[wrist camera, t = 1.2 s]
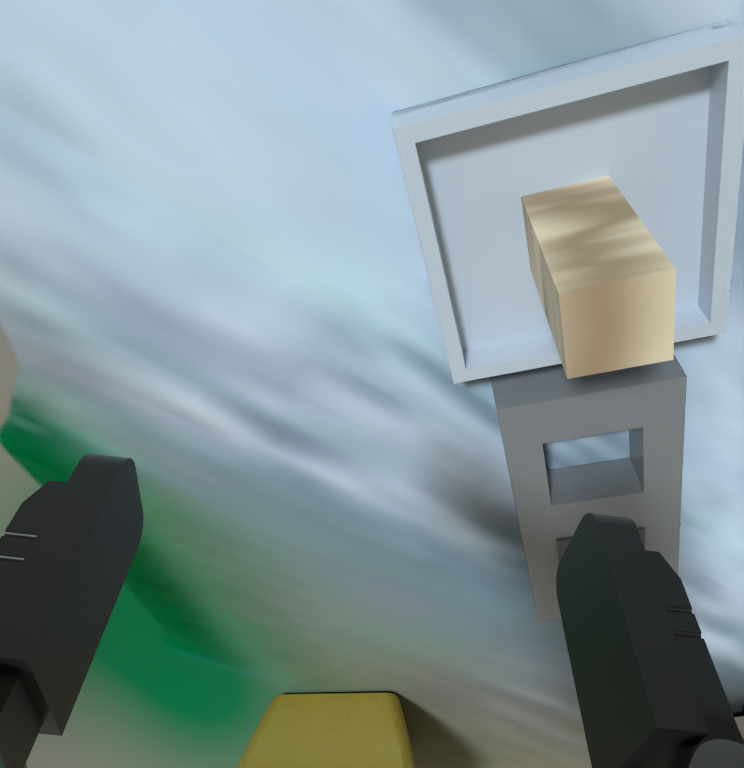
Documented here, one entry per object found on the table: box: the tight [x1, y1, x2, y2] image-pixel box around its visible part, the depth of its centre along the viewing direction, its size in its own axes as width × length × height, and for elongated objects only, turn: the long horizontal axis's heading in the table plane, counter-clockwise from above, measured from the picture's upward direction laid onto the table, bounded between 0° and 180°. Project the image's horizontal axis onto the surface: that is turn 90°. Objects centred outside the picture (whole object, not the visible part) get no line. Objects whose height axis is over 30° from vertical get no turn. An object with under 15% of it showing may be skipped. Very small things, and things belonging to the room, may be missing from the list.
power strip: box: [491, 355, 687, 621], centre depth 41 cm, size 10×22×4 cm, turn 15°
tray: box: [392, 21, 744, 383], centre depth 30 cm, size 14×14×2 cm
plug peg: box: [521, 176, 676, 379], centre depth 27 cm, size 4×4×9 cm
